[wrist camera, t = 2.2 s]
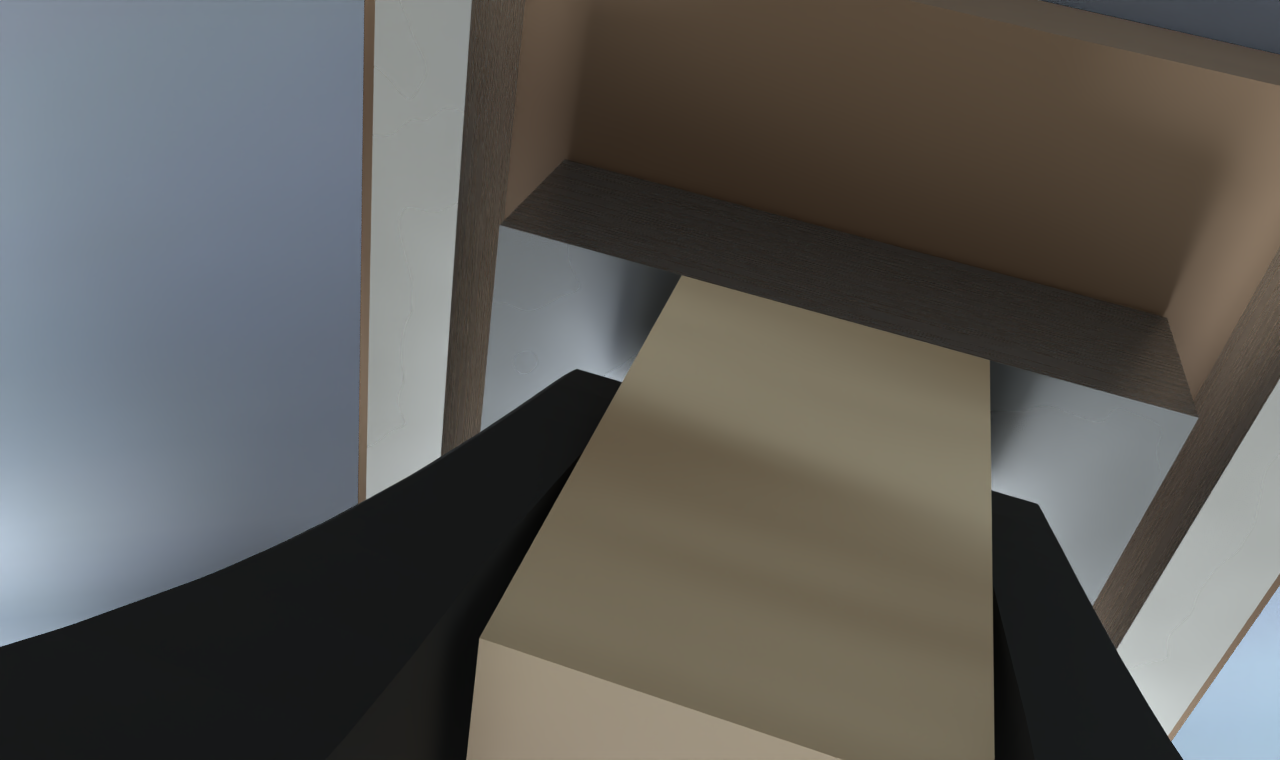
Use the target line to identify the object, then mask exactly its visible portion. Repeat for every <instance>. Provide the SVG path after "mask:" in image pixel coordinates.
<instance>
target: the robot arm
mask: <svg viewBox="0 0 1280 760" xmlns="http://www.w3.org/2000/svg"><path fill="white" fill-rule="evenodd" d="M621 383H622V382H620V381H617V380H614V379H610V378H607V377H603V376H600V375H597V374H593V373H590V372H586V371H583V370H579V369H575V370H573V371H571V372H569V373H567V374H565V375H563V376H562V377H561V378H559V379H558V380H556V381H555V382H553V383H552V384H550V385H549V386H547V387H546V388H544V389H543V390H542V391H540V392H539V393H537V394H536V395H534V396H533V397H531V398H530V399H529V400H527V401H526V402H524V403H523V404H521V405H520V406H518V407H517V408H515V409H514V410H512V411H511V412H509V413H508V414H506V415H505V416H503V417H502V418H500V419H499V420H497V421H496V422H494V423H493V424H491V425H490V426H488V427H487V428H485V429H484V430H482V431H481V432H479V433H478V434H476V435H475V436H473V437H471V438H470V439H468V440H467V441H465V442H463V443H462V444H460V445H459V446H457V447H455V448H454V449H452V450H450V451H449V452H447V453H446V454H444V455H442V456H441V457H439V458H438V459H436V460H434V461H433V462H431V463H430V464H428V465H426V466H425V467H423V468H421V469H420V470H418V471H416V472H415V473H413V474H411V475H410V476H408V477H406V478H404V479H403V480H401V481H399V482H397V483H395V484H394V485H392V486H390V487H388V488H386V489H384V490H383V491H381V492H379V493H377V494H375V495H374V496H372V497H370V498H368V499H366V500H364V501H363V502H361V503H359V504H357V505H355V506H353V507H352V508H350V509H348V510H346V511H344V512H342V513H341V514H339V515H337V516H335V517H333V518H331V519H329V520H327V521H325V522H324V523H322V524H319V525H317V526H315V527H313V528H311V529H309V530H307V531H305V532H303V533H301V534H299V535H297V536H295V537H293V538H291V539H289V540H287V541H285V542H283V543H280V544H278V545H276V546H274V547H272V548H270V549H268V550H265V551H263V552H261V553H258V554H256V555H254V556H252V557H249V558H247V559H245V560H243V561H240V562H238V563H236V564H234V565H231V566H229V567H227V568H225V569H222V570H220V571H217V572H215V573H212V574H210V575H207V576H205V577H202V578H200V579H197V580H195V581H192V582H189V583H186V584H184V585H181V586H178V587H175V588H173V589H170V590H167V591H164V592H162V593H159V594H156V595H153V596H150V597H148V598H145V599H142V600H139V601H137V602H134V603H131V604H128V605H126V606H123V607H120V608H117V609H115V610H112V611H109V612H106V613H103V614H101V615H98V616H95V617H92V618H90V619H87V620H84V621H81V622H79V623H76V624H73V625H70V626H67V627H63V628H60V629H57V630H54V631H51V632H48V633H45V634H41V635H38V636H35V637H31V638H28V639H25V640H22V641H18V642H15V643H12V644H9V645H5V646H2V647H0V760H466V758H467V749H468V740H469V730H470V721H471V712H472V703H473V693H474V684H475V675H476V665H477V656H478V647H479V638H480V636H481V634H482V632H483V631H484V629H485V627H486V625H487V623H488V622H489V620H490V618H491V616H492V615H493V613H494V611H495V609H496V607H497V606H498V604H499V602H500V600H501V598H502V597H503V595H504V593H505V591H506V589H507V588H508V586H509V584H510V582H511V580H512V579H513V577H514V575H515V573H516V572H517V570H518V568H519V566H520V564H521V563H522V561H523V559H524V557H525V555H526V554H527V552H528V550H529V548H530V546H531V545H532V543H533V541H534V539H535V537H536V536H537V534H538V532H539V530H540V529H541V527H542V525H543V523H544V521H545V520H546V518H547V516H548V514H549V512H550V511H551V509H552V507H553V505H554V503H555V502H556V500H557V498H558V496H559V494H560V493H561V491H562V489H563V487H564V486H565V484H566V482H567V480H568V478H569V477H570V475H571V473H572V471H573V469H574V468H575V466H576V464H577V462H578V460H579V459H580V457H581V455H582V453H583V451H584V450H585V448H586V446H587V444H588V443H589V441H590V439H591V437H592V435H593V434H594V432H595V430H596V428H597V426H598V425H599V423H600V421H601V419H602V417H603V416H604V414H605V412H606V410H607V408H608V407H609V405H610V403H611V401H612V400H613V398H614V396H615V394H616V392H617V391H618V389H619V387H620V385H621ZM991 502H992V585H993V667H994V750H995V760H1183V759H1182V757H1181V756H1180V754H1179V753H1178V751H1177V750H1176V748H1175V747H1174V745H1173V744H1172V742H1171V740H1170V739H1169V737H1168V735H1167V734H1166V732H1165V731H1164V729H1163V727H1162V726H1161V724H1160V723H1159V721H1158V719H1157V718H1156V716H1155V715H1154V713H1153V711H1152V710H1151V708H1150V706H1149V705H1148V703H1147V702H1146V700H1145V698H1144V696H1143V695H1142V693H1141V691H1140V690H1139V688H1138V686H1137V684H1136V683H1135V681H1134V679H1133V678H1132V676H1131V674H1130V672H1129V671H1128V669H1127V667H1126V666H1125V664H1124V662H1123V660H1122V659H1121V657H1120V655H1119V654H1118V652H1117V650H1116V648H1115V646H1114V645H1113V643H1112V641H1111V639H1110V637H1109V636H1108V634H1107V632H1106V630H1105V628H1104V627H1103V625H1102V623H1101V621H1100V619H1099V617H1098V615H1097V614H1096V612H1095V610H1094V608H1093V606H1092V604H1091V602H1090V601H1089V599H1088V597H1087V595H1086V593H1085V591H1084V589H1083V587H1082V586H1081V584H1080V582H1079V580H1078V578H1077V576H1076V574H1075V572H1074V570H1073V569H1072V567H1071V565H1070V563H1069V561H1068V559H1067V557H1066V555H1065V553H1064V551H1063V549H1062V548H1061V546H1060V544H1059V542H1058V540H1057V538H1056V536H1055V534H1054V532H1053V531H1052V529H1051V527H1050V525H1049V523H1048V521H1047V519H1046V518H1045V516H1044V514H1043V512H1042V510H1041V508H1040V506H1039V505H1038V504H1037V503H1033V502H1030V501H1027V500H1023V499H1020V498H1016V497H1013V496H1010V495H1006V494H1003V493H999V492H996V491H993V490H991Z"/></svg>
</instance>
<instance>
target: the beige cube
mask: <svg viewBox="0 0 1280 760" xmlns="http://www.w3.org/2000/svg"><path fill="white" fill-rule="evenodd" d="M575 369H579V370H583V371H586V372H590V373H593V374H597V375H600V376H603V377H607V378H610V379H614V380H617V381H620V382H622V383H621V385H620V387H619V389H618V391H617V392H616V394H615V396H614V398H613V400H612V401H611V403H610V405H609V407H608V408H607V410H606V412H605V414H604V416H603V417H602V419H601V421H600V423H599V425H598V426H597V428H596V430H595V432H594V434H593V435H592V437H591V439H590V441H589V443H588V444H587V446H586V448H585V450H584V451H583V453H582V455H581V457H580V459H579V460H578V462H577V464H576V466H575V468H574V469H573V471H572V473H571V475H570V477H569V478H568V480H567V482H566V484H565V486H564V487H563V489H562V491H561V493H560V494H559V496H558V498H557V500H556V502H555V503H554V505H553V507H552V509H551V511H550V512H549V514H548V516H547V518H546V520H545V521H544V523H543V525H542V527H541V529H540V530H539V532H538V534H537V536H536V537H535V539H534V541H533V543H532V545H531V546H530V548H529V550H528V552H527V554H526V555H525V557H524V559H523V561H522V563H521V564H520V566H519V568H518V570H517V572H516V573H515V575H514V577H513V579H512V580H511V582H510V584H509V586H508V588H507V589H506V591H505V593H504V595H503V597H502V598H501V600H500V602H499V604H498V606H497V607H496V609H495V611H494V613H493V615H492V616H491V618H490V620H489V622H488V623H487V625H486V627H485V629H484V631H483V632H482V634H481V636H480V638H479V647H478V656H477V665H476V675H475V684H474V693H473V703H472V712H471V721H470V730H469V740H468V749H467V758H466V760H995V750H994V667H993V585H992V502H991V490H993V491H996V492H999V493H1003V494H1006V495H1010V496H1013V497H1016V498H1020V499H1023V500H1027V501H1030V502H1033V503H1037V504H1038V505H1039V506H1040V508H1041V510H1042V512H1043V514H1044V516H1045V518H1046V519H1047V521H1048V523H1049V525H1050V527H1051V529H1052V531H1053V532H1054V534H1055V536H1056V538H1057V540H1058V542H1059V544H1060V546H1061V548H1062V549H1063V551H1064V553H1065V555H1066V557H1067V559H1068V561H1069V563H1070V565H1071V567H1072V569H1073V570H1074V572H1075V574H1076V576H1077V578H1078V580H1079V582H1080V584H1081V586H1082V587H1083V589H1084V591H1085V593H1086V595H1087V597H1088V599H1089V601H1090V602H1091V604H1092V606H1093V604H1094V602H1095V601H1096V599H1097V597H1098V595H1099V594H1100V592H1101V590H1102V588H1103V587H1104V585H1105V583H1106V581H1107V579H1108V578H1109V576H1110V574H1111V572H1112V571H1113V569H1114V567H1115V565H1116V564H1117V562H1118V560H1119V558H1120V556H1121V555H1122V553H1123V551H1124V549H1125V548H1126V546H1127V544H1128V542H1129V541H1130V539H1131V537H1132V535H1133V533H1134V532H1135V530H1136V528H1137V526H1138V525H1139V523H1140V521H1141V519H1142V518H1143V516H1144V514H1145V512H1146V510H1147V509H1148V507H1149V505H1150V503H1151V502H1152V500H1153V498H1154V496H1155V495H1156V493H1157V491H1158V489H1159V487H1160V486H1161V484H1162V482H1163V480H1164V479H1165V477H1166V475H1167V473H1168V471H1169V470H1170V468H1171V466H1172V464H1173V463H1174V461H1175V459H1176V457H1177V456H1178V454H1179V452H1180V450H1181V448H1182V447H1183V445H1184V443H1185V441H1186V440H1187V438H1188V436H1189V434H1190V433H1191V431H1192V429H1193V427H1194V425H1195V424H1196V422H1197V420H1198V418H1199V417H1198V414H1197V410H1196V407H1195V404H1194V401H1193V398H1192V395H1191V392H1190V388H1189V385H1188V382H1187V379H1186V376H1185V373H1184V370H1183V366H1182V363H1181V360H1180V357H1179V354H1178V351H1177V348H1176V344H1175V341H1174V338H1173V335H1172V332H1171V329H1170V326H1169V322H1168V319H1167V317H1163V316H1159V315H1155V314H1151V313H1148V312H1144V311H1140V310H1136V309H1132V308H1129V307H1125V306H1121V305H1117V304H1113V303H1110V302H1106V301H1102V300H1098V299H1094V298H1091V297H1087V296H1083V295H1079V294H1076V293H1072V292H1068V291H1064V290H1060V289H1057V288H1053V287H1049V286H1045V285H1041V284H1038V283H1034V282H1030V281H1026V280H1022V279H1019V278H1015V277H1011V276H1007V275H1003V274H1000V273H996V272H992V271H988V270H985V269H981V268H977V267H973V266H969V265H966V264H962V263H958V262H954V261H950V260H947V259H943V258H939V257H935V256H931V255H928V254H924V253H920V252H916V251H912V250H909V249H905V248H901V247H897V246H894V245H890V244H886V243H882V242H878V241H875V240H871V239H867V238H863V237H859V236H856V235H852V234H848V233H844V232H840V231H837V230H833V229H829V228H825V227H821V226H818V225H814V224H810V223H806V222H803V221H799V220H795V219H791V218H787V217H784V216H780V215H776V214H772V213H768V212H765V211H761V210H757V209H753V208H749V207H746V206H742V205H738V204H734V203H730V202H727V201H723V200H719V199H715V198H712V197H708V196H704V195H700V194H696V193H693V192H689V191H685V190H681V189H677V188H674V187H670V186H666V185H662V184H658V183H655V182H651V181H647V180H643V179H639V178H636V177H632V176H628V175H624V174H621V173H617V172H613V171H609V170H605V169H602V168H598V167H594V166H590V165H586V164H583V163H579V162H575V161H571V160H567V159H564V160H563V161H562V162H561V163H560V164H559V165H558V166H557V167H556V168H555V170H554V171H553V172H552V173H551V174H550V175H549V176H548V177H547V178H546V179H545V180H544V181H543V182H542V183H541V184H540V185H539V186H538V187H537V188H536V189H535V190H534V191H533V192H532V193H531V194H530V195H529V196H528V197H527V198H526V199H525V200H524V201H523V202H522V203H521V204H520V205H519V206H518V207H517V208H516V209H515V210H514V211H513V212H512V213H511V214H510V215H509V216H508V217H507V218H506V219H505V220H504V221H503V222H502V223H501V224H500V226H499V236H498V247H497V258H496V268H495V279H494V290H493V301H492V311H491V322H490V333H489V343H488V354H487V365H486V376H485V386H484V397H483V408H482V418H481V429H480V432H481V431H482V430H484V429H485V428H487V427H488V426H490V425H491V424H493V423H494V422H496V421H497V420H499V419H500V418H502V417H503V416H505V415H506V414H508V413H509V412H511V411H512V410H514V409H515V408H517V407H518V406H520V405H521V404H523V403H524V402H526V401H527V400H529V399H530V398H531V397H533V396H534V395H536V394H537V393H539V392H540V391H542V390H543V389H544V388H546V387H547V386H549V385H550V384H552V383H553V382H555V381H556V380H558V379H559V378H561V377H562V376H563V375H565V374H567V373H569V372H571V371H573V370H575Z"/></svg>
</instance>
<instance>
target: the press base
mask: <svg viewBox="0 0 1280 760" xmlns="http://www.w3.org/2000/svg"><path fill="white" fill-rule="evenodd" d="M564 159H567V160H571V161H575V162H579V163H583V164H586V165H590V166H594V167H598V168H602V169H605V170H609V171H613V172H617V173H621V174H624V175H628V176H632V177H636V178H639V179H643V180H647V181H651V182H655V183H658V184H662V185H666V186H670V187H674V188H677V189H681V190H685V191H689V192H693V193H696V194H700V195H704V196H708V197H712V198H715V199H719V200H723V201H727V202H730V203H734V204H738V205H742V206H746V207H749V208H753V209H757V210H761V211H765V212H768V213H772V214H776V215H780V216H784V217H787V218H791V219H795V220H799V221H803V222H806V223H810V224H814V225H818V226H821V227H825V228H829V229H833V230H837V231H840V232H844V233H848V234H852V235H856V236H859V237H863V238H867V239H871V240H875V241H878V242H882V243H886V244H890V245H894V246H897V247H901V248H905V249H909V250H912V251H916V252H920V253H924V254H928V255H931V256H935V257H939V258H943V259H947V260H950V261H954V262H958V263H962V264H966V265H969V266H973V267H977V268H981V269H985V270H988V271H992V272H996V273H1000V274H1003V275H1007V276H1011V277H1015V278H1019V279H1022V280H1026V281H1030V282H1034V283H1038V284H1041V285H1045V286H1049V287H1053V288H1057V289H1060V290H1064V291H1068V292H1072V293H1076V294H1079V295H1083V296H1087V297H1091V298H1094V299H1098V300H1102V301H1106V302H1110V303H1113V304H1117V305H1121V306H1125V307H1129V308H1132V309H1136V310H1140V311H1144V312H1148V313H1151V314H1155V315H1159V316H1163V317H1167V319H1168V322H1169V326H1170V329H1171V332H1172V335H1173V338H1174V341H1175V344H1176V348H1177V351H1178V354H1179V357H1180V360H1181V363H1182V366H1183V370H1184V373H1185V376H1186V379H1187V382H1188V385H1189V388H1190V392H1191V395H1192V398H1193V401H1194V404H1195V407H1196V410H1197V414H1198V417H1199V418H1198V420H1197V422H1196V424H1195V425H1194V427H1193V429H1192V431H1191V433H1190V434H1189V436H1188V438H1187V440H1186V441H1185V443H1184V445H1183V447H1182V448H1181V450H1180V452H1179V454H1178V456H1177V457H1176V459H1175V461H1174V463H1173V464H1172V466H1171V468H1170V470H1169V471H1168V473H1167V475H1166V477H1165V479H1164V480H1163V482H1162V484H1161V486H1160V487H1159V489H1158V491H1157V493H1156V495H1155V496H1154V498H1153V500H1152V502H1151V503H1150V505H1149V507H1148V509H1147V510H1146V512H1145V514H1144V516H1143V518H1142V519H1141V521H1140V523H1139V525H1138V526H1137V528H1136V530H1135V532H1134V533H1133V535H1132V537H1131V539H1130V541H1129V542H1128V544H1127V546H1126V548H1125V549H1124V551H1123V553H1122V555H1121V556H1120V558H1119V560H1118V562H1117V564H1116V565H1115V567H1114V569H1113V571H1112V572H1111V574H1110V576H1109V578H1108V579H1107V581H1106V583H1105V585H1104V587H1103V588H1102V590H1101V592H1100V594H1099V595H1098V597H1097V599H1096V601H1095V602H1094V604H1093V608H1094V610H1095V612H1096V614H1097V615H1098V617H1099V619H1100V621H1101V623H1102V625H1103V627H1104V628H1105V630H1106V632H1107V634H1108V636H1109V637H1110V639H1111V641H1112V643H1113V645H1114V646H1115V648H1116V650H1117V652H1118V654H1119V655H1120V657H1121V659H1122V660H1123V662H1124V664H1125V666H1126V667H1127V669H1128V671H1129V672H1130V674H1131V676H1132V678H1133V679H1134V681H1135V683H1136V684H1137V686H1138V688H1139V690H1140V691H1141V693H1142V695H1143V696H1144V698H1145V700H1146V702H1147V703H1148V705H1149V706H1150V708H1151V710H1152V711H1153V713H1154V715H1155V716H1156V718H1157V719H1158V721H1159V723H1160V724H1161V726H1162V727H1163V729H1164V731H1165V732H1166V734H1167V735H1168V737H1169V739H1170V740H1171V741H1172V740H1173V738H1174V737H1175V735H1176V734H1177V732H1178V731H1179V730H1180V728H1181V727H1182V725H1183V724H1184V722H1185V721H1186V719H1187V718H1188V717H1189V715H1190V714H1191V712H1192V711H1193V709H1194V708H1195V706H1196V705H1197V704H1198V702H1199V701H1200V699H1201V698H1202V696H1203V695H1204V694H1205V692H1206V691H1207V689H1208V688H1209V686H1210V685H1211V683H1212V682H1213V681H1214V679H1215V678H1216V676H1217V675H1218V673H1219V672H1220V670H1221V669H1222V668H1223V666H1224V665H1225V663H1226V662H1227V660H1228V659H1229V658H1230V656H1231V655H1232V653H1233V652H1234V650H1235V649H1236V647H1237V646H1238V645H1239V643H1240V642H1241V640H1242V639H1243V637H1244V636H1245V635H1246V633H1247V632H1248V630H1249V629H1250V627H1251V626H1252V624H1253V623H1254V622H1255V620H1256V619H1257V617H1258V616H1259V614H1260V613H1261V611H1262V610H1263V609H1264V607H1265V606H1266V604H1267V603H1268V601H1269V600H1270V599H1271V597H1272V596H1273V594H1274V593H1275V591H1276V590H1277V588H1278V587H1279V586H1280V54H1275V53H1271V52H1266V51H1262V50H1257V49H1253V48H1249V47H1244V46H1240V45H1235V44H1231V43H1227V42H1222V41H1218V40H1213V39H1209V38H1204V37H1200V36H1196V35H1191V34H1187V33H1182V32H1178V31H1173V30H1169V29H1165V28H1160V27H1156V26H1151V25H1147V24H1142V23H1138V22H1134V21H1129V20H1125V19H1120V18H1116V17H1112V16H1107V15H1103V14H1098V13H1094V12H1089V11H1085V10H1081V9H1076V8H1072V7H1067V6H1063V5H1058V4H1054V3H1050V2H1045V1H1041V0H364V76H363V154H362V232H361V310H360V388H359V465H358V504H359V503H361V502H363V501H364V500H366V499H368V498H370V497H372V496H374V495H375V494H377V493H379V492H381V491H383V490H384V489H386V488H388V487H390V486H392V485H394V484H395V483H397V482H399V481H401V480H403V479H404V478H406V477H408V476H410V475H411V474H413V473H415V472H416V471H418V470H420V469H421V468H423V467H425V466H426V465H428V464H430V463H431V462H433V461H434V460H436V459H438V458H439V457H441V456H442V455H444V454H446V453H447V452H449V451H450V450H452V449H454V448H455V447H457V446H459V445H460V444H462V443H463V442H465V441H467V440H468V439H470V438H471V437H473V436H475V435H476V434H478V433H479V432H480V429H481V418H482V408H483V397H484V386H485V376H486V365H487V354H488V343H489V333H490V322H491V311H492V301H493V290H494V279H495V268H496V258H497V247H498V236H499V226H500V224H501V223H502V222H503V221H504V220H505V219H506V218H507V217H508V216H509V215H510V214H511V213H512V212H513V211H514V210H515V209H516V208H517V207H518V206H519V205H520V204H521V203H522V202H523V201H524V200H525V199H526V198H527V197H528V196H529V195H530V194H531V193H532V192H533V191H534V190H535V189H536V188H537V187H538V186H539V185H540V184H541V183H542V182H543V181H544V180H545V179H546V178H547V177H548V176H549V175H550V174H551V173H552V172H553V171H554V170H555V168H556V167H557V166H558V165H559V164H560V163H561V162H562V161H563V160H564Z"/></svg>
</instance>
